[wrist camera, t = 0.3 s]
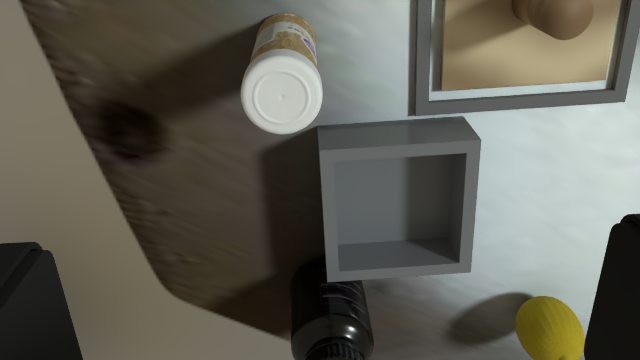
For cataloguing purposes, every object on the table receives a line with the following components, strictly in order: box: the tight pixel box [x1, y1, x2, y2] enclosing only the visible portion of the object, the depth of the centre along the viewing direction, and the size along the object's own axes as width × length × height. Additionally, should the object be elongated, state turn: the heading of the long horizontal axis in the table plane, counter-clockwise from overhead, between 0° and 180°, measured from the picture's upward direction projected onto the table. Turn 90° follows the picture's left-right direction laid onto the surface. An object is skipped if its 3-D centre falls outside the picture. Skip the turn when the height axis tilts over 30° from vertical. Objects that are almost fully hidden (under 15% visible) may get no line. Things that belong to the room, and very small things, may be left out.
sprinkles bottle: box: [241, 13, 322, 134], centre depth 37 cm, size 5×5×13 cm
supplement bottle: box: [290, 257, 374, 360], centre depth 48 cm, size 7×7×12 cm
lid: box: [440, 0, 620, 91], centre depth 39 cm, size 13×13×7 cm
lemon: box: [515, 296, 585, 360], centre depth 52 cm, size 6×6×8 cm
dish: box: [317, 116, 481, 282], centre depth 46 cm, size 12×12×5 cm
